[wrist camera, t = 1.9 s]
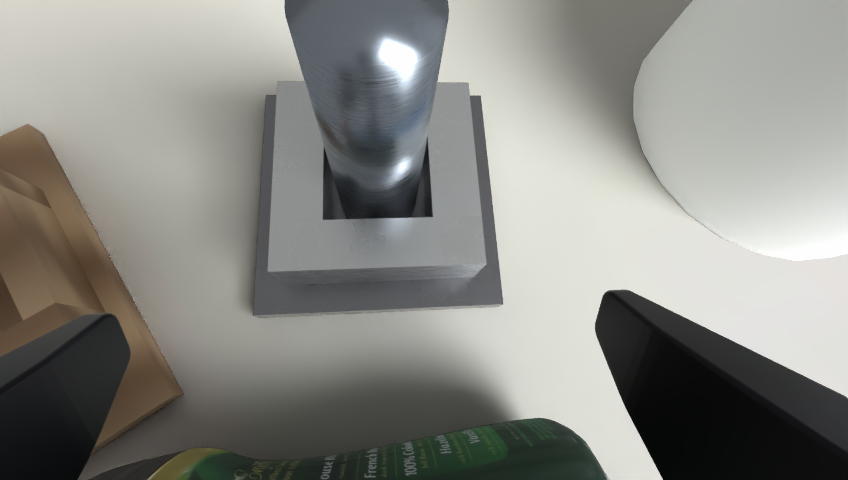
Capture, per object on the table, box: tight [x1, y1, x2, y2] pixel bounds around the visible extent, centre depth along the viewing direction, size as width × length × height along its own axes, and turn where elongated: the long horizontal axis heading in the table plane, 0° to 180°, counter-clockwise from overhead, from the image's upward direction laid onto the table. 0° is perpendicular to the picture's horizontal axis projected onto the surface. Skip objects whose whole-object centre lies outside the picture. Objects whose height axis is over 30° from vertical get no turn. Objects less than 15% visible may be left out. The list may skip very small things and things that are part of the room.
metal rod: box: [285, 0, 449, 219], centre depth 16 cm, size 4×4×12 cm
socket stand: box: [253, 81, 503, 318], centre depth 21 cm, size 12×12×4 cm
